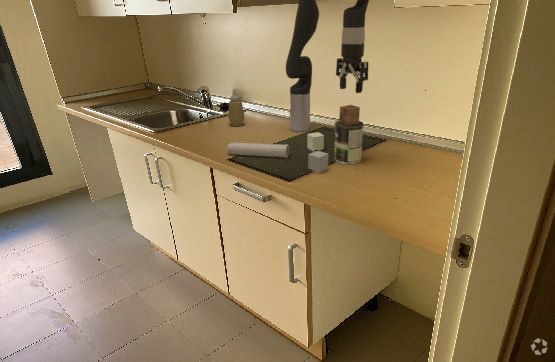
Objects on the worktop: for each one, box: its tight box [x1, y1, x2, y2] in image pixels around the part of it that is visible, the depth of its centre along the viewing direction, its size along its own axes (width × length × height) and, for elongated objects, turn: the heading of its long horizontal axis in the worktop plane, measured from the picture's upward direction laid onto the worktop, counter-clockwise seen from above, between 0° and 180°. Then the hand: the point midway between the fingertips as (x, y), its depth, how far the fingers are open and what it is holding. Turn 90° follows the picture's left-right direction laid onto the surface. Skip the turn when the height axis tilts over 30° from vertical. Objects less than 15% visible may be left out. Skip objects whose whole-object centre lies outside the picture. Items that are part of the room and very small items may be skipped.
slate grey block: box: [307, 150, 329, 174], centre depth 136 cm, size 5×5×6 cm
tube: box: [226, 141, 290, 159], centre depth 152 cm, size 5×5×25 cm
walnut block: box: [338, 104, 361, 126], centre depth 138 cm, size 5×5×6 cm
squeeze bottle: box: [228, 88, 245, 127], centre depth 190 cm, size 8×8×18 cm
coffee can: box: [333, 120, 364, 165], centre depth 142 cm, size 10×10×14 cm
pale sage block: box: [306, 131, 325, 152], centre depth 156 cm, size 5×5×6 cm
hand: (350, 90), depth 134 cm, fingers open, 8 cm apart
